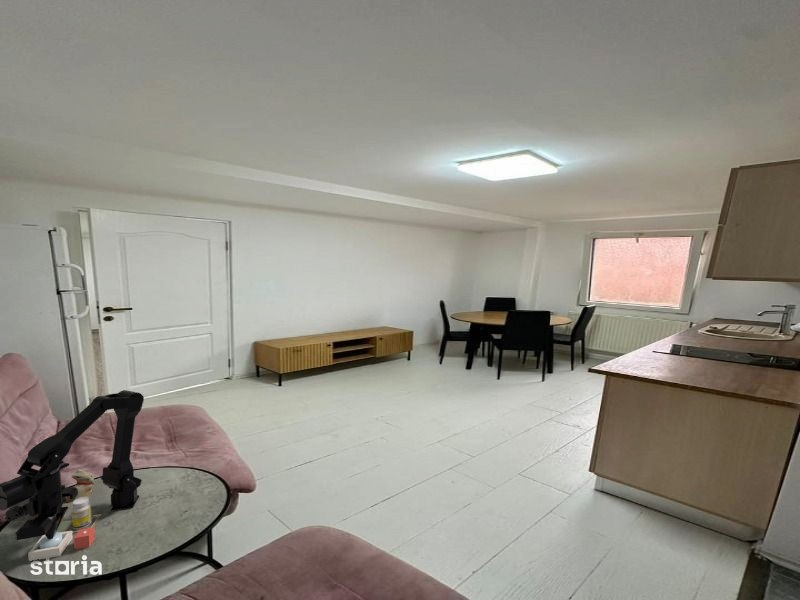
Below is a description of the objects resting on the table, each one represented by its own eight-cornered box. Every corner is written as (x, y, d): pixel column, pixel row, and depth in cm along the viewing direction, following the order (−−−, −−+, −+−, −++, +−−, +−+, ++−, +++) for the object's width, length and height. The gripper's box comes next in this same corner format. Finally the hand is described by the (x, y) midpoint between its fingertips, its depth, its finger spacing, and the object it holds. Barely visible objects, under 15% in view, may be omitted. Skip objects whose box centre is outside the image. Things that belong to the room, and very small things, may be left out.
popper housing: (72, 538, 112) (72, 530, 112) (59, 555, 106) (59, 547, 105) (43, 542, 110) (43, 535, 110) (28, 561, 103) (28, 553, 103)
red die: (95, 538, 113) (94, 526, 112) (89, 546, 109) (88, 535, 109) (80, 540, 111) (80, 529, 111) (74, 549, 108) (73, 537, 108)
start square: (101, 515, 122) (101, 514, 122) (90, 530, 116) (90, 529, 116) (74, 519, 120) (74, 518, 120) (62, 534, 113) (62, 533, 113)
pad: (72, 520, 119) (72, 520, 119) (63, 533, 114) (63, 532, 114) (51, 523, 118) (51, 523, 118) (40, 536, 112) (40, 535, 112)
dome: (66, 540, 111) (65, 530, 110) (57, 552, 106) (56, 542, 106) (46, 543, 109) (45, 534, 109) (36, 555, 105) (35, 546, 104)
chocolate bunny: (93, 496, 131) (92, 469, 130) (63, 503, 127) (62, 476, 126) (95, 488, 136) (94, 462, 135) (66, 495, 132) (65, 468, 130)
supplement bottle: (80, 519, 120) (78, 495, 119) (95, 519, 120) (94, 495, 120) (68, 530, 115) (66, 505, 114) (84, 530, 116) (83, 504, 115)
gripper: (32, 473, 112) (35, 521, 114) (-13, 514, 94) (-9, 570, 96) (77, 468, 116) (80, 515, 117) (41, 507, 98) (45, 561, 100)
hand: (51, 538), depth 107 cm, fingers closed, pressing on dome
